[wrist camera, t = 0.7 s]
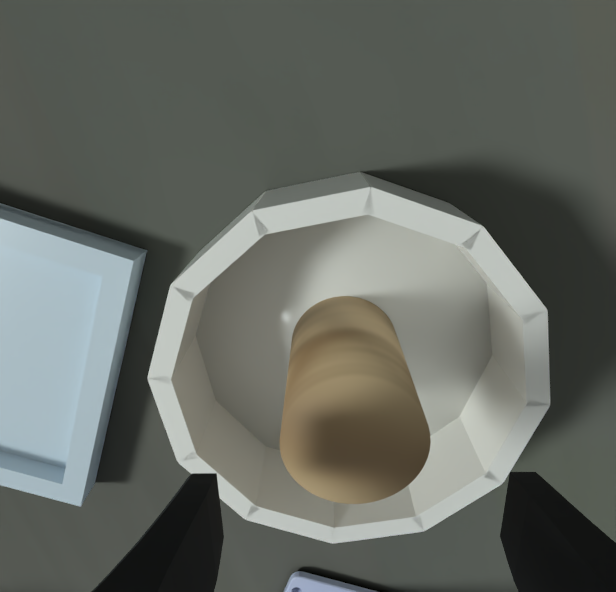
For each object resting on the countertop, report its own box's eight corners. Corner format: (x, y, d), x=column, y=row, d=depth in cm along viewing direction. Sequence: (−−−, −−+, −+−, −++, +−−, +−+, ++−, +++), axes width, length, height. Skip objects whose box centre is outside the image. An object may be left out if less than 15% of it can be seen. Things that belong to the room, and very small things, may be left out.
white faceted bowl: (426, 501, 23) (447, 575, 20) (154, 423, 22) (120, 485, 18) (566, 244, 19) (628, 276, 15) (232, 126, 18) (208, 130, 14)
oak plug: (373, 402, 21) (396, 519, 15) (278, 373, 21) (260, 481, 15) (413, 315, 20) (455, 405, 14) (311, 281, 19) (307, 359, 13)
